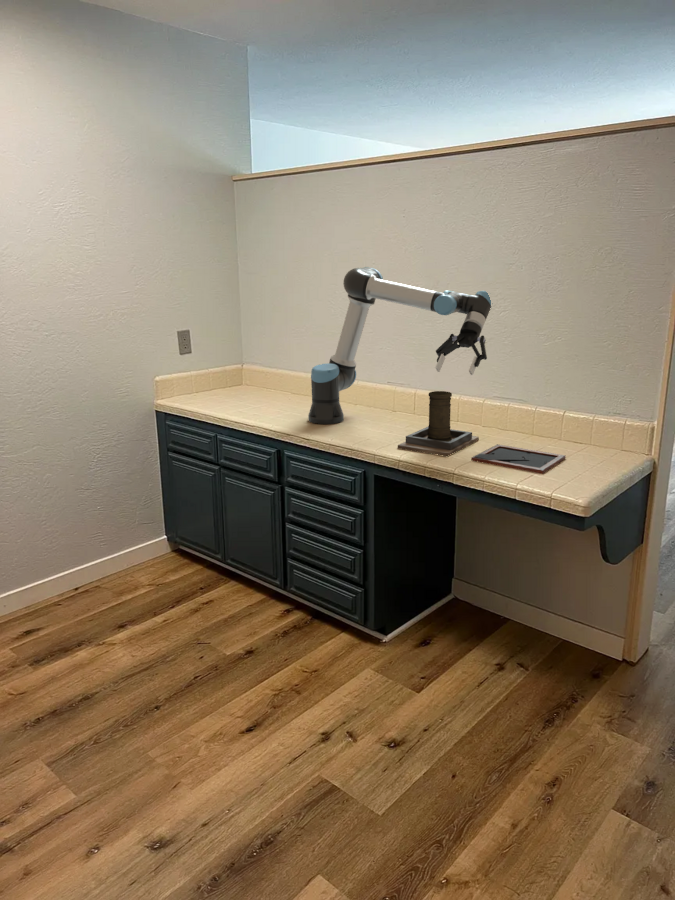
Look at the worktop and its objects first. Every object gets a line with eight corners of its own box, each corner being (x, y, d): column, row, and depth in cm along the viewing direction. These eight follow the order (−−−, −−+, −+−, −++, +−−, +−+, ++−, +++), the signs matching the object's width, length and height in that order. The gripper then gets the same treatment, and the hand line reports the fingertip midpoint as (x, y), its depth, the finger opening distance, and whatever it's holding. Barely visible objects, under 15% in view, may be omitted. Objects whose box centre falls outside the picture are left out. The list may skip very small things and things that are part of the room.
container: (450, 444, 244) (452, 395, 239) (425, 443, 246) (426, 395, 241) (452, 438, 253) (453, 390, 248) (427, 437, 254) (428, 390, 249)
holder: (431, 432, 265) (431, 423, 264) (478, 439, 254) (479, 430, 253) (397, 448, 245) (397, 438, 244) (447, 456, 234) (447, 446, 233)
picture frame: (471, 462, 229) (542, 475, 214) (471, 456, 229) (542, 469, 214) (497, 448, 244) (565, 460, 229) (497, 443, 244) (565, 454, 229)
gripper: (505, 334, 254) (487, 380, 247) (446, 331, 268) (427, 374, 261) (501, 321, 249) (482, 367, 241) (440, 318, 263) (420, 362, 255)
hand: (453, 371), depth 251 cm, fingers open, 13 cm apart
